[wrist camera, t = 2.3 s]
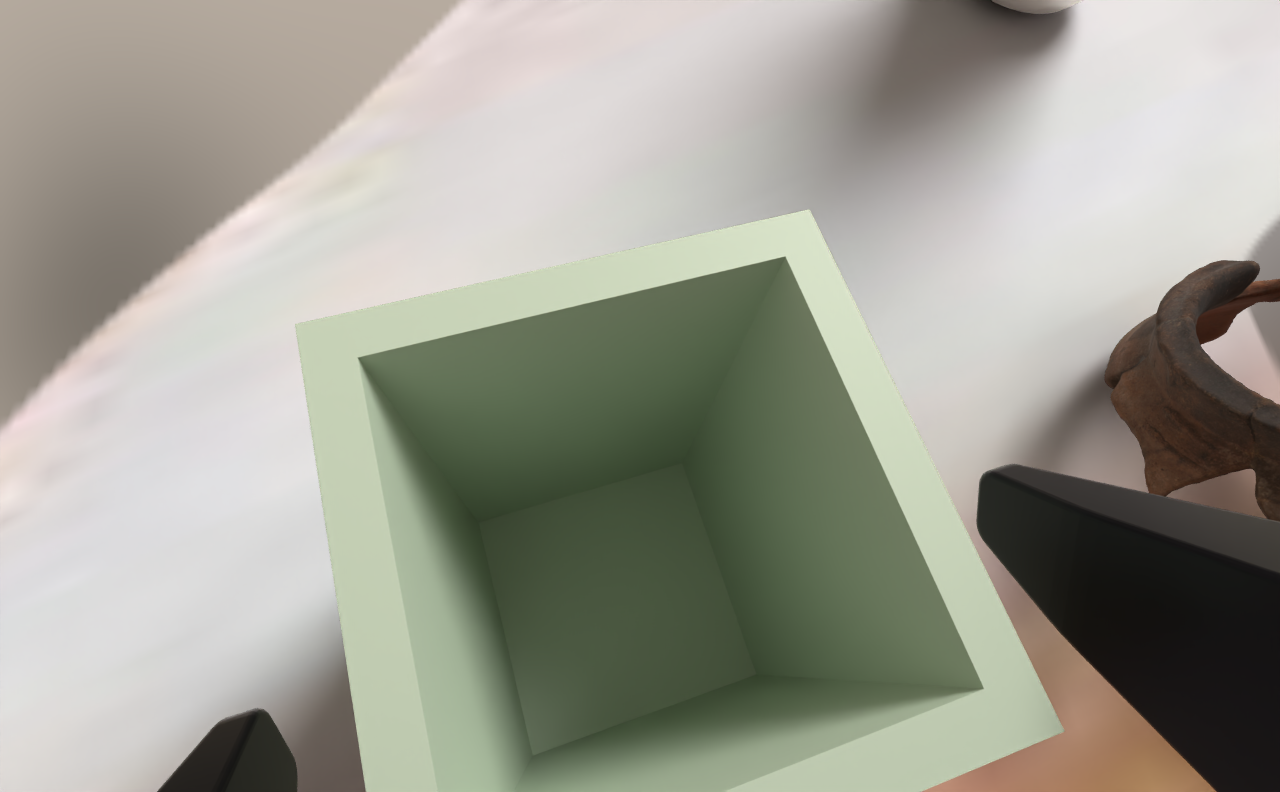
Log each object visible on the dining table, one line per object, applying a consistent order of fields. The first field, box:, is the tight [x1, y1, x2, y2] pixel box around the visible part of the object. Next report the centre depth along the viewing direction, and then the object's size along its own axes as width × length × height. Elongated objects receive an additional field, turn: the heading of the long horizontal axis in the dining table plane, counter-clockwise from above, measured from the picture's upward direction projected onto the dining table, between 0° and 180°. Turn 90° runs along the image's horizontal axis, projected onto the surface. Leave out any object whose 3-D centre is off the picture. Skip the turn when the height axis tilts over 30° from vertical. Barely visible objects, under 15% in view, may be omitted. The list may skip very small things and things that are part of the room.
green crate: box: [295, 209, 1064, 792], centre depth 12 cm, size 6×6×10 cm
